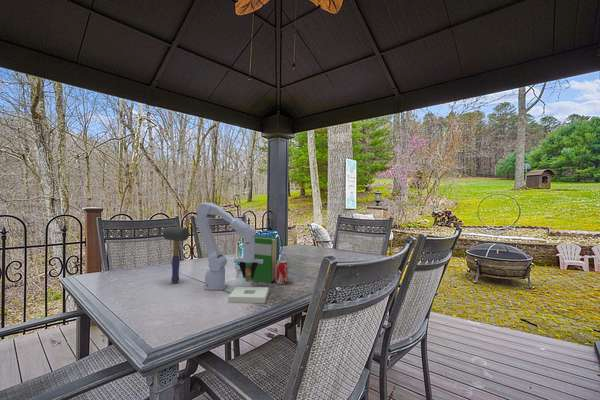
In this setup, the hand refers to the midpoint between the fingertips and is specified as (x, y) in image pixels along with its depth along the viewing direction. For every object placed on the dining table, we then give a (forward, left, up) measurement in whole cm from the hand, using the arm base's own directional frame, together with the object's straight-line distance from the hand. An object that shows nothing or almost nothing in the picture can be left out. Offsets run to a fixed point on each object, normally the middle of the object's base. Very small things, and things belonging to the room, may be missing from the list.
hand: (248, 277), depth 140 cm
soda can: (+16, +11, -6) cm, 20 cm away
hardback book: (+4, +17, -6) cm, 18 cm away
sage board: (+3, -12, -6) cm, 14 cm away
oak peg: (0, 0, -2) cm, 2 cm away
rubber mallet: (-41, +8, -6) cm, 42 cm away
